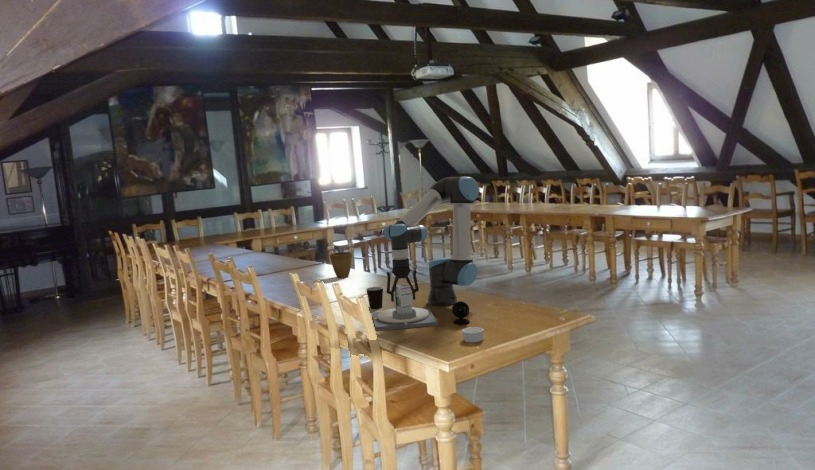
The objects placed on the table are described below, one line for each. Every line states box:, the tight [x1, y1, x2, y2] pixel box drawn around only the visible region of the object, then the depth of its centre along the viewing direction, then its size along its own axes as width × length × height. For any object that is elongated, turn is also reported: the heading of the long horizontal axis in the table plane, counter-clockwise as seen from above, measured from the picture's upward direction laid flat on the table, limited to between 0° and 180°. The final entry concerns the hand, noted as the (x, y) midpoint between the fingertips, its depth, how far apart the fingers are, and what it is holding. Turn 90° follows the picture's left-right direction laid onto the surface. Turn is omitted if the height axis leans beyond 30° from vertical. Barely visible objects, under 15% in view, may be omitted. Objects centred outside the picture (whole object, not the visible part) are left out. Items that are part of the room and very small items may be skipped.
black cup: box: [366, 286, 384, 310], centre depth 326 cm, size 12×9×10 cm
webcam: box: [451, 301, 471, 326], centre depth 284 cm, size 8×8×10 cm
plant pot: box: [329, 251, 353, 279], centre depth 416 cm, size 15×15×16 cm
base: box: [372, 307, 438, 331], centre depth 296 cm, size 28×28×2 cm
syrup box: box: [394, 283, 412, 314], centre depth 289 cm, size 6×6×14 cm
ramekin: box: [461, 326, 485, 344], centre depth 258 cm, size 9×9×4 cm
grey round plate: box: [378, 306, 429, 323], centre depth 296 cm, size 24×24×4 cm
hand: (403, 307), depth 289 cm, fingers closed on syrup box, 7 cm apart
